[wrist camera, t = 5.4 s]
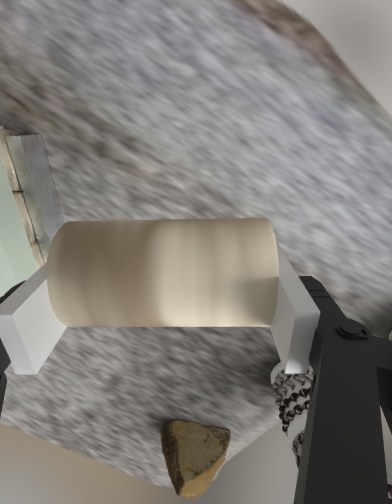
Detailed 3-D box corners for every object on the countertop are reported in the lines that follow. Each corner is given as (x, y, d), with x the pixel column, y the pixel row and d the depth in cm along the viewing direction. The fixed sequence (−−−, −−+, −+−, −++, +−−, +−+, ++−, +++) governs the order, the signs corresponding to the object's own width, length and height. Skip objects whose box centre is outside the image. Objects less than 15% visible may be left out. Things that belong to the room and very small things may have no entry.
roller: (102, 293, 16) (60, 351, 11) (89, 211, 14) (33, 239, 10) (252, 292, 16) (273, 351, 11) (257, 208, 14) (284, 235, 9)
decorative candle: (348, 365, 37) (579, 752, 14) (308, 403, 40) (440, 757, 18) (291, 343, 35) (451, 738, 13) (255, 385, 39) (329, 748, 16)
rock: (250, 439, 41) (201, 422, 37) (236, 510, 37) (179, 500, 33) (208, 420, 50) (164, 405, 46) (193, 476, 46) (144, 464, 42)
